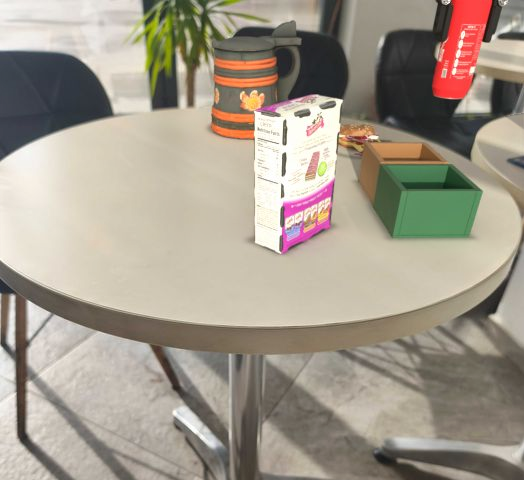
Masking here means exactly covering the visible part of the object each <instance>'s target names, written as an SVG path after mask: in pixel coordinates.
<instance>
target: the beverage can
mask: <svg viewBox="0 0 524 480" xmlns="http://www.w3.org/2000/svg"><path fill="white" fill-rule="evenodd" d="M491 4H492V0H452V2H451V5H453V7H454V9H453V14H452V18H451V23H450V27H449V32H448V37H447V40H446V41H445V42H440V44H439V45H440V46H439V50H438V55H437V59H436V63H435V68H434V73H433V78H432V83H431V88H432V96H434V97H436V98H438V99H439V98H440V99H445V100H462V99H465V97H466V95H467V94H468V93H469V91H470V89H471V87H472V82H473V77H474V74H475V70H476V66H477V62H478V59H479V54H480V52H481V51H480V50H481V47H482V43H483V42H482V39H483V35H484V32H485V28H486V24H487V20H488V16H489V12H490V8H491Z"/></svg>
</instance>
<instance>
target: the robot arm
mask: <svg viewBox="0 0 524 480" xmlns="http://www.w3.org/2000/svg"><path fill="white" fill-rule="evenodd" d="M434 1H435V3H436V4H437V5H436V10H435V15H434V20H433V24H432V34H434V35H433V39H434V40H435V41H437V42H440V43H441V42H445V41H446V40H447V37H448V32H449V27H450V23H451V18H452V14H453V9H454V7H453V5H451V2H452V0H434ZM508 3H509V0H492V4H491V8H490V12H489V16H488V20H487V24H486V28H485V32H484V35H483V39H482V43H485V44H487V43H488V44H490V43H491V41H492V38H493V36H494V35H495V34H496V32H497V29H498V24H499V22H500V17H501V13H502V9H503V7H505V6H506V5H507V4H508Z"/></svg>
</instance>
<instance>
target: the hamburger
mask: <svg viewBox="0 0 524 480" xmlns="http://www.w3.org/2000/svg"><path fill="white" fill-rule="evenodd" d="M379 135H380V133H379V132H378V131H376V128H375V127H374V126H373V125H371V124H368V123H358V124H355V123H353V124H344V125H340V132H339V143H338V145H340V146H342V147H345V148H347V149H356V150H357V151H358V152H356V153H354V155H355V156H360V157H362V155H363V148H364V142H382V141H381V139H379V138H380V136H379Z"/></svg>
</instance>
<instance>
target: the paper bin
mask: <svg viewBox="0 0 524 480" xmlns="http://www.w3.org/2000/svg"><path fill="white" fill-rule="evenodd" d="M362 152H363V155H362V156H361V162H360V168H359V169H360V170H359V175H358V176H359V177H358V183H359V185H360V186H361V189H362V190H363V191H364V193H365V194H366V196H367V197H368V199H369V200H370V203H371V204H372V205H373V204H374V198H375V192H376V186H377V180H378V174H379V168H380V164H450V162H449V161H448V160H447V159H446V158H444V157H443V156H442V154H440V153H439V152H438V151H436V150H435V149H434V148H433V147H432V146H431V145H430V144H429V143H428V142H425V141H423V142H421V141H420V142H419V141H417V142H416V141H381V142H364V148H363V151H362Z"/></svg>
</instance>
